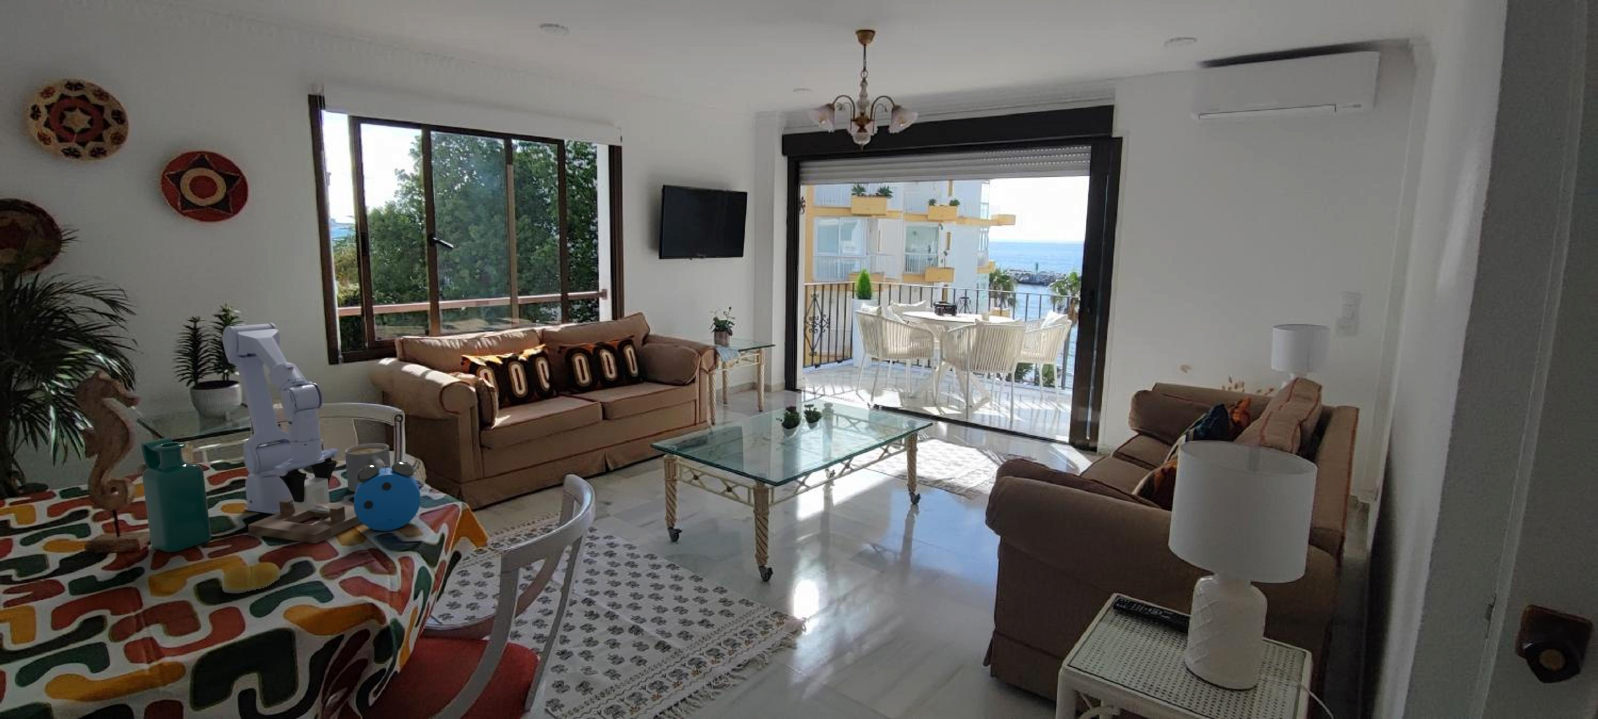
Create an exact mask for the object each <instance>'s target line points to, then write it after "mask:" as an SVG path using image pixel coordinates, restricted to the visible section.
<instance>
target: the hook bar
mask: <svg viewBox="0 0 1598 719" xmlns="http://www.w3.org/2000/svg"><path fill="white" fill-rule="evenodd" d="M288 508H292V509H294V503H293V502H290V503H289V504H288ZM330 508H331V507H324V506H317V505H313V509H311V510H306V511H313V512H320V513H328V514H330ZM299 510H302V509H299Z"/></svg>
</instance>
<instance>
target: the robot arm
mask: <svg viewBox="0 0 1598 719" xmlns="http://www.w3.org/2000/svg"><path fill="white" fill-rule="evenodd" d="M280 341H281V334H280V331H279V328H278V327H277V325H276V324H274V323H273V322H267V323H258V324H257V323H256V324H245V325H244V324H243V325H234V326H232V325H227V326H226V327H225V328H224V329H223V332H222V344H223V347H224V348H223V349H224V353H225V356H226V359H227V361H228V363H229V364H231V365H235V366H236V368H237V371H238V374H239V378H240V381H241V385H242V390H243V394H244V397H245V401H246V405H247V410H248V414H249V417H250V421H251V426H252V430H253V434H252V435H251V436H250V437H249V438H248V439H247V440H246V441H245V442H244V444H243V447H242V449H243V462H244V465H245V468H246V470H247V472H248V473H249V474H248V475H247V477H246V479H245V483H244V484H245V485H244V486H245V494H246V495H245V496H246V504H247V505H246V507H244V510H245V511H250V512H258V513H264V514H271V515H275V514H277V513H280V505H279V501H282V500H285V499H293V500H294V502H300V503H302V502H304V483H305V480H306V478H307V475H308V474H307V473H306V472H301V471H300V470H302V469H304V468H308V467H310V468H311V469H312V471H313V475H314V476H313V477H317V478H325V479H328V487H329V486H330V481H331V477H332V475H333V472H334V470H335V468H336V467H337V460H333V459H337V458H339V451H338V450H339V449H337V448H328V449H325V450H323V449H322V438H321V427H320V417H319V416H320V415H319V409H321V408H322V406H323V404H324V403H323V402H324V400H323V393H322V390H321V388H320V387H319V385H318V384H317V383H315V382H312V380H309V381H308V380H307V379H306V377H305V376H304V375H303V373H302V372H301V370H300V369H299V368H298V367H297V365H296V363H295V364H294V363H293V362H288V361H287V359H286V358H285V356H284V354H283V351H282V349H281V348H280ZM264 365H265V366H266V367H267V368H268V369H269V373H268V378H269V380H270V381H271V383H272V384H273V386H274V387H275V389H276V390H277V391H278V393H279V395H280V403H281V407H282V409H283V412H284V417H285V420H286V421H287V422H288V431H289V432H288V431H284V430H283V429H280V426H279V424H278V419H277V416H276V411H275V408H274V404H273V400H272V399H273V398H272V396H271V393H270V392H271V391H270V388H269V384H268V381H267V377H266V373H265V368H264Z"/></svg>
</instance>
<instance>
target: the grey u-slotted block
mask: <svg viewBox="0 0 1598 719" xmlns="http://www.w3.org/2000/svg"><path fill="white" fill-rule="evenodd" d="M313 502H317V503H324V504H326V503H331V500H330V491H329V486H328V479H325V478H317V477H315V476H313V477H310V478H307V479H305V483H304V502H302V503H300V502H294V500H293V503H294V509H302V510H311V509H313Z"/></svg>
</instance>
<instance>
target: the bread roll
mask: <svg viewBox="0 0 1598 719" xmlns="http://www.w3.org/2000/svg"><path fill="white" fill-rule="evenodd" d="M280 577H281V571H280V568H279V566H278V565H277V564H276V563H273V562H269V561H268V562H267V561H266V562H259V563H258V562H257V563H254V564H252V565H251V566H248V565H242V564H241V565H236V566H233V567H231V568H229V569H228V570H227V571H226V572H225V574H224V575H223V578H222V583H221V588H222V591H223V592H224V593H226V594H227V593H228V594H241V593H247V591H248V592H251V591H257V590H256V589H259V590H262V589H261V588H263V589H265V588H264V587H266V588H268V587H270V586H272V585H273V584H274V582H275V581H276V582H277V581H279V580H280ZM276 582H275V583H276ZM272 583H273V584H272ZM271 584H272V585H271ZM269 585H270V586H269ZM267 586H268V587H267Z"/></svg>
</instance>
